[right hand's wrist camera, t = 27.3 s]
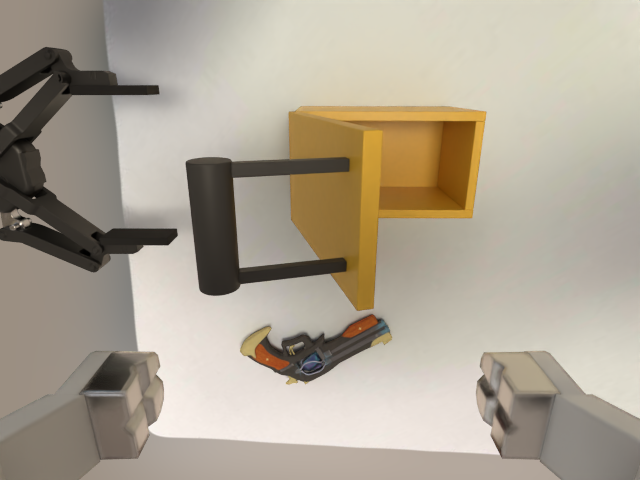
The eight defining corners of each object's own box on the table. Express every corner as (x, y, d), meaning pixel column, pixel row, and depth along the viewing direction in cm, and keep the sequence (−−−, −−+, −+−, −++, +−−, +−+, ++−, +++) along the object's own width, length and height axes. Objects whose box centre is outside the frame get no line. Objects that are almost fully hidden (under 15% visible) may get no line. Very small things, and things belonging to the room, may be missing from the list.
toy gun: (234, 349, 55) (273, 407, 57) (359, 280, 53) (396, 342, 55) (238, 339, 57) (275, 395, 59) (357, 274, 55) (392, 333, 57)
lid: (383, 129, 20) (180, 135, 18) (374, 309, 23) (202, 333, 21) (300, 111, 36) (188, 112, 34) (301, 219, 39) (199, 227, 37)
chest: (450, 106, 47) (486, 111, 36) (441, 191, 50) (472, 218, 40) (300, 106, 47) (294, 111, 36) (301, 191, 50) (296, 217, 40)
